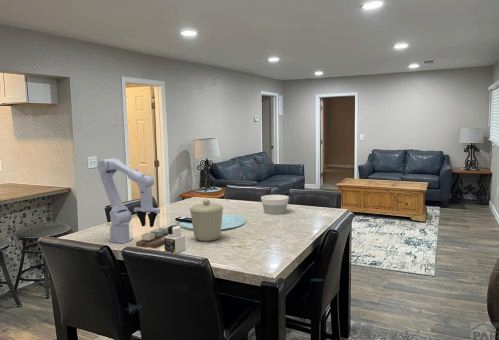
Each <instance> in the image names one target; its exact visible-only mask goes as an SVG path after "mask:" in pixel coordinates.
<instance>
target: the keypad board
mask: <svg viewBox="0 0 499 340" xmlns="http://www.w3.org/2000/svg"><path fill="white" fill-rule="evenodd" d="M180 235H182V233H181V234H180ZM166 236H169V235H168V233H163V235H161V236H158V237H155V238H154V239H151V240H142V239H140V240H137V241H136V243H135V244H136V247H143V248H149V247H151V248H152V249H158V248H160V247H162V246H165V245H164V237H166ZM157 247H158V248H157ZM151 248H150V249H151Z"/></svg>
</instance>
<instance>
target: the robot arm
mask: <svg viewBox="0 0 499 340" xmlns="http://www.w3.org/2000/svg"><path fill="white" fill-rule="evenodd" d="M97 169H98V172H99V175H100V180H101V182H102V185H103V187H104V191H105V194H106V196H107V198H108V200H109V203H110V207H111V210H110V211H109V217H110V222H111V225H110V227H109V238H110V239H109V241H108V242H110V243H119V244H125V243H128V242H131V241H132V240H134V238H133V237H130V223H131V221H132V219H133V217H132V215H133V214H132V212H131V211H130V209H128V206H126V205H124V204H123V203H122V200H121V196H120V194H119V192H118V189H117V187H116V183H115V181H114V179H113V177H114V175H116V173H117V171H119V172H121V173H123V174H125V175H127V178H128V179H129V180H131V181H132V182H134V183H135V184H136V185H137V187H138V190H139V195H140V196H139V197H140V207H137V206H136V207H134V208H133V212H135V213H136V212H137V213H136V214H135V215H136V216H137V217H138V219H139V221H140V224H141V227H145V226H146V222H147V221H146V219H147V218H148V222H149V228H154V226H155V221H156V218H157V216H158V214H160V213H161V209H160V208H155V207H154V206H153V189H152V188H153V185H154V183H155V180H154V178H153V176H152V175H150V174H148V175H147V174H145V173H143V172H141V171H139V168H130V167H129V166H127V165H126V164H124V163H123V162H122V161H121V159H118V158H116V157H113V158H101V159H100V160H99V161H98V163H97ZM146 216H147V218H146Z"/></svg>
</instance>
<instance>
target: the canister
mask: <svg viewBox="0 0 499 340" xmlns="http://www.w3.org/2000/svg"><path fill="white" fill-rule="evenodd" d="M224 209H225V207H224V206H222V205H221V204H219V203H212V202H210V200H209V199H207V198H206V199H203V201H202V203H198V204H194V205H192V206H190V208H189V209H188V210H189V212H190V217H191V223H192V230H193V235H194V238H195V239H196V240H197V241H201V242H212V241H217V240H218V239H219V238H220V236H221V234H222V226H223V225H222V224H223V223H222V222H223V210H224Z"/></svg>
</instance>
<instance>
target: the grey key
mask: <svg viewBox="0 0 499 340" xmlns="http://www.w3.org/2000/svg"><path fill="white" fill-rule="evenodd" d="M149 233H155V237H158V236H161V235H163V230H158V228H157V229H156V228H155V229H153V230H150V232H149Z"/></svg>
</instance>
